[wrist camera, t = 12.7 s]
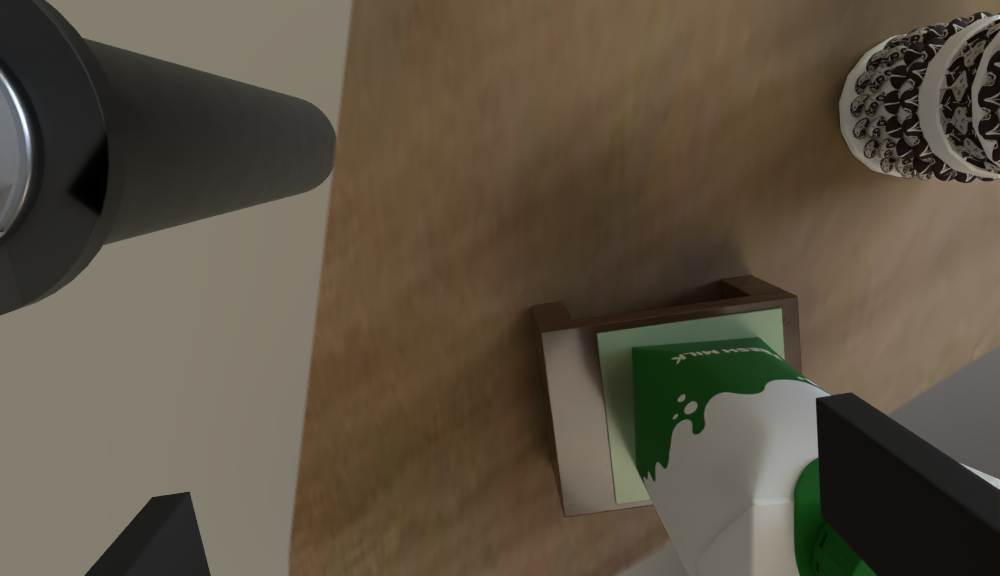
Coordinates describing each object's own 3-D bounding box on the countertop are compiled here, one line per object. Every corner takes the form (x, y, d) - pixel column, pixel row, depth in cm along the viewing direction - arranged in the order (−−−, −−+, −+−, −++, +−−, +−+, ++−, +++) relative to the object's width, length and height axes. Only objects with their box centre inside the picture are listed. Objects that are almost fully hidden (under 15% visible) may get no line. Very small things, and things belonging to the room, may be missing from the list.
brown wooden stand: (531, 305, 45) (540, 332, 38) (752, 274, 45) (799, 296, 38) (552, 467, 47) (564, 519, 40) (763, 437, 47) (809, 485, 40)
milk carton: (775, 318, 38) (1089, 497, 19) (774, 474, 40) (1061, 789, 20) (612, 331, 38) (757, 525, 18) (619, 487, 40) (757, 816, 20)
